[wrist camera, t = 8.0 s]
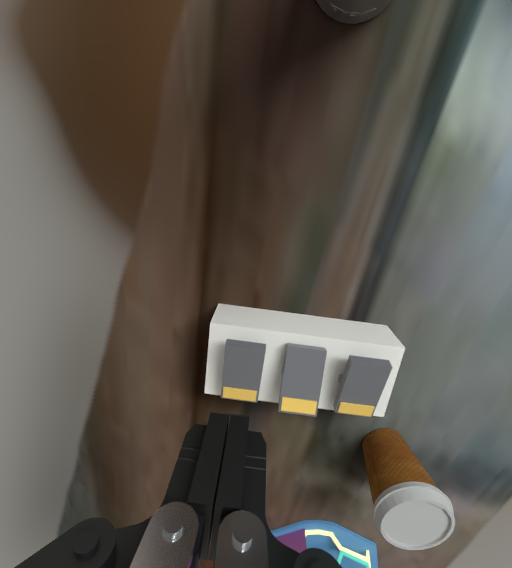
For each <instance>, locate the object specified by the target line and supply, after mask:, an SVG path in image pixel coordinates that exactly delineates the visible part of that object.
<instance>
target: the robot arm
mask: <svg viewBox="0 0 512 568" xmlns="http://www.w3.org/2000/svg"><path fill="white" fill-rule="evenodd" d="M391 1H392V0H316V2H317V3H318V5H319V6H320V8H321V9H322V10H323V11H324V12H325V13H326V14H327V15H328V16H329V17H331V18H332V19H334V20H336V21H338V22H342V23H346V24H358V23H362V22H365V21H368V20H370V19H372V18H374V17H376V16H377V15H378V14H379V13H381V12H382V11H383V10H384V9H385V8H386V7H387V6H388V4H389V3H390V2H391ZM228 423H229V428H228ZM248 424H249V416H244V415H237V414H231V416H230V422H229V414H228V413H221V412H213V411H211V413H210V417H209V421H208V424H207V425H199V424H195V425H194V426H193V427H192V428H191V429H190V430H189V431H188V432H187V433H186V435H185V438H184V441H183V444H182V448H181V450H180V453H179V456H178V459H177V462H176V465H175V468H174V471H173V474H172V477H171V480H170V483H169V486H168V489H167V492H166V495H165V498H164V500H163V503H162V505H161V506H160V508H159V509H158V510H157V511H156V512H155V513H154V515H153V516H151V517H150V518H149V519H147V520H145V521H144V522H141V523H139V524H136V525H132V526H127V527H123V528H118V529H115V528H114V526H113V525H112V523H111V522H109V521H108V520H106V519H104V518H90V519H87V520H84V521H82V522H80V523H78V524H77V525H75V526H74V527H72V528H71V529H69V530H68V531H66V532H65V533H64V534H62V535H61V536H59V537H58V538H56V539H55V540H53V541H52V542H51V543H49V544H48V545H46V546H45V547H44V548H42V549H40V550H39V551H38V552H36V553H35V554H33V555H32V556H30V557H29V558H28V559H26V560H25V561H23V562H22V563H20V564H19V565H17V566H16V567H15V568H198V566H199V561H200V559H204V560H207V556H208V550H209V544H210V539H211V547H210V556H209V560H213V561H214V568H342V567H341V565H340V564H339V563H338V561H337V560H336V559H335V558H334V557H333V556H332V555H331V554H329V553H328V552H326V551H324V550H322V549H319V548H308V549H306V550H304V551H302V552H301V553H299V552H297V551H295V550H293V549H291V548H290V547H288V546H286V545H284V544H283V543H281V542H280V541H279V540H277V539H276V538H275V536H274V535H273V534H272V533H271V531H270V529H269V527H268V525H267V522H266V517H265V490H266V443H265V440H264V438H263V436H262V434H261V432H253V431H248ZM227 432H228V434H227ZM212 527H213V529H212ZM211 533H212V538H211Z"/></svg>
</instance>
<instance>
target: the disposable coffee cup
mask: <svg viewBox="0 0 512 568" xmlns="http://www.w3.org/2000/svg"><path fill="white" fill-rule="evenodd" d="M362 448H363V452H364V458H365V463H366V468H367V473H368V478H369V484H370V489H371V494H372V500H373V504H374V510H373V519H374V523H375V525H376V527H377V528H378V530H379V531H380V532H381V533H382V535H383V536H384V538H385V539H386V540H387V541H388V542H389V543H391V544H392V545H394V546H396V547H399V548H402V549H406V550H423V549H427V548H431V547H434V546H436V545H438V544H441V543H442V542H443V541H445V540H446V539H447V538H448V537H449V536H450V535H451V533H452V532H453V529H454V526H455V518H454V515H453V512H454V511H453V505H452V503H451V501H450V500H449V498H448V497H447V496H446V495H445V494H444V493H442V491H441V490H439V489H438V488H437V486H436V485H435V483H434V482H433V481H432V479H431V478H430V477H429V475H428V474H427V472H426V471H425V469H424V468H423V466H422V465H421V463H420V462H419V461H418V459H417V458H416V456H415V455H414V454H413V452H412V451H411V449H410V448H409V446H408V445H407V443H406V442H405V441H404V439H403V438H402V436H401V435H400V434H399V433H398V432H396V431H394V430H391V429H377V430H375V431H372V432H371V433H369V434H368V435H367V436H366V437H365V438H364V440H363V443H362Z"/></svg>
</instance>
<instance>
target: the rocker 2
mask: <svg viewBox="0 0 512 568" xmlns="http://www.w3.org/2000/svg"><path fill="white" fill-rule="evenodd" d="M326 355H327V350H326V349H325V348H323V347H316V346H308V345H301V344H293V343H287V346H286V353H285V360H284V367H283V374H282V381H281V388H280V395H279V402H278V412H283V413H291V414H299V415H306V416H314V417H317V411H318V405H319V398H320V392H321V386H322V380H323V373H324V367H325V361H326Z"/></svg>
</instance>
